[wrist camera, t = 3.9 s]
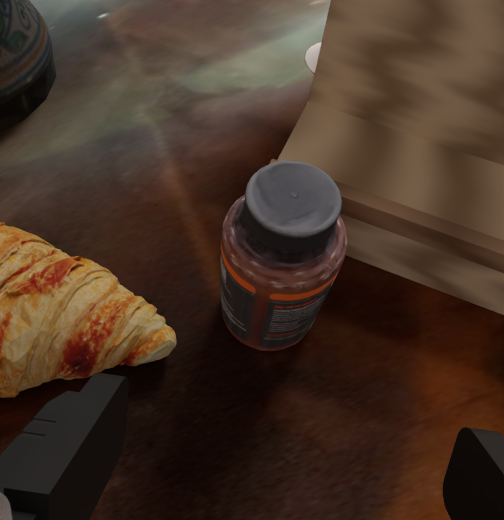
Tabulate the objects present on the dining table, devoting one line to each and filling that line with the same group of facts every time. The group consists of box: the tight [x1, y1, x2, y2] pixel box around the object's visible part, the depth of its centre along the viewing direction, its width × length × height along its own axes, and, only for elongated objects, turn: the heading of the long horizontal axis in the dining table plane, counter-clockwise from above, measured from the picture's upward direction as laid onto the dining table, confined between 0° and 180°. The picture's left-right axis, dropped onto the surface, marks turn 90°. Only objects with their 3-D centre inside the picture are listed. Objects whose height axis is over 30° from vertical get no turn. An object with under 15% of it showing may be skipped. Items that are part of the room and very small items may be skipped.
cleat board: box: [270, 0, 504, 315], centre depth 24 cm, size 24×11×16 cm, turn 68°
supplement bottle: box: [221, 161, 347, 351], centre depth 22 cm, size 6×6×11 cm
